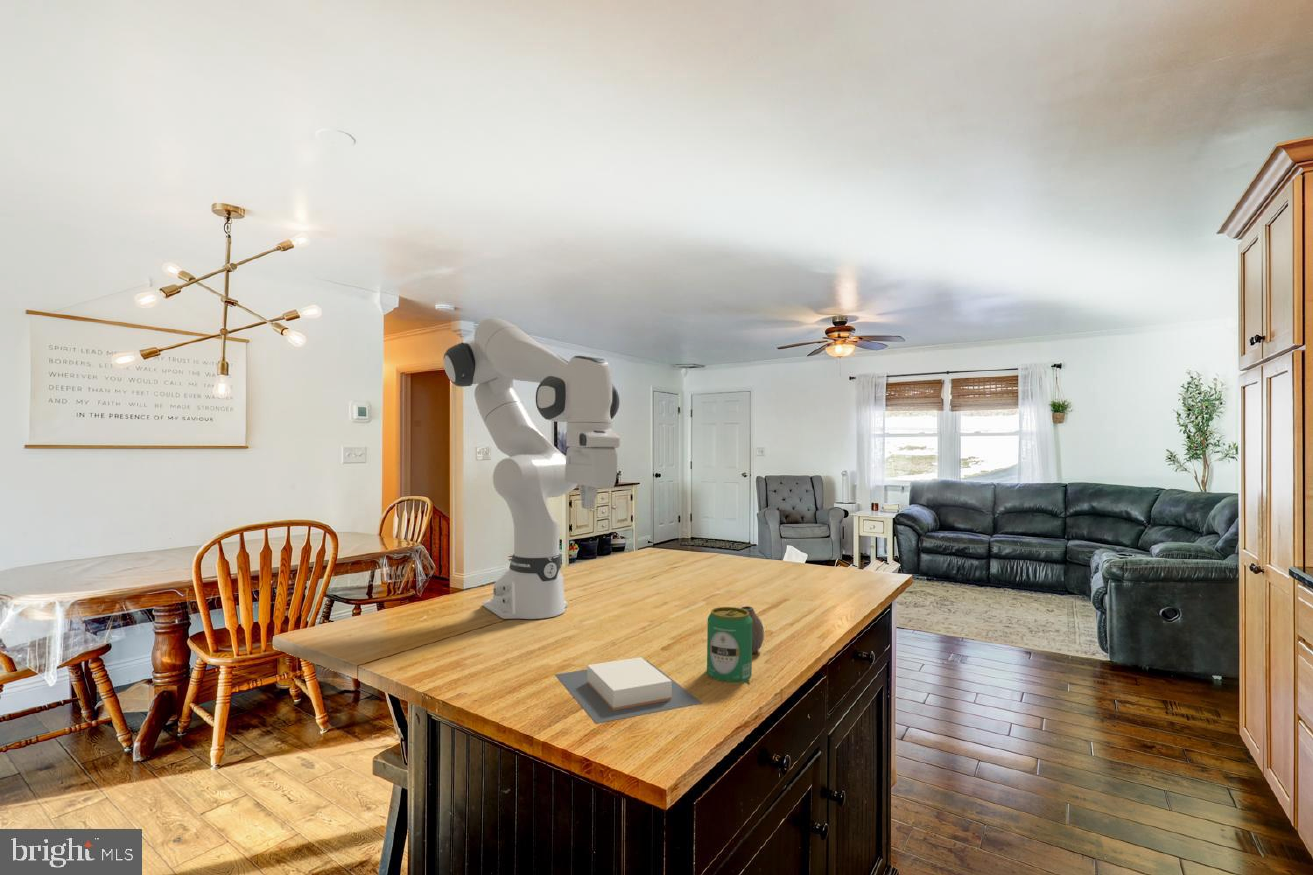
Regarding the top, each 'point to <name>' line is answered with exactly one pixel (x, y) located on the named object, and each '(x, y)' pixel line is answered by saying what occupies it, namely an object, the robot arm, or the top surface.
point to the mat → (605, 713)
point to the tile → (629, 683)
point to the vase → (755, 629)
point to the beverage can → (729, 644)
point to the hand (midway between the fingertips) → (587, 508)
